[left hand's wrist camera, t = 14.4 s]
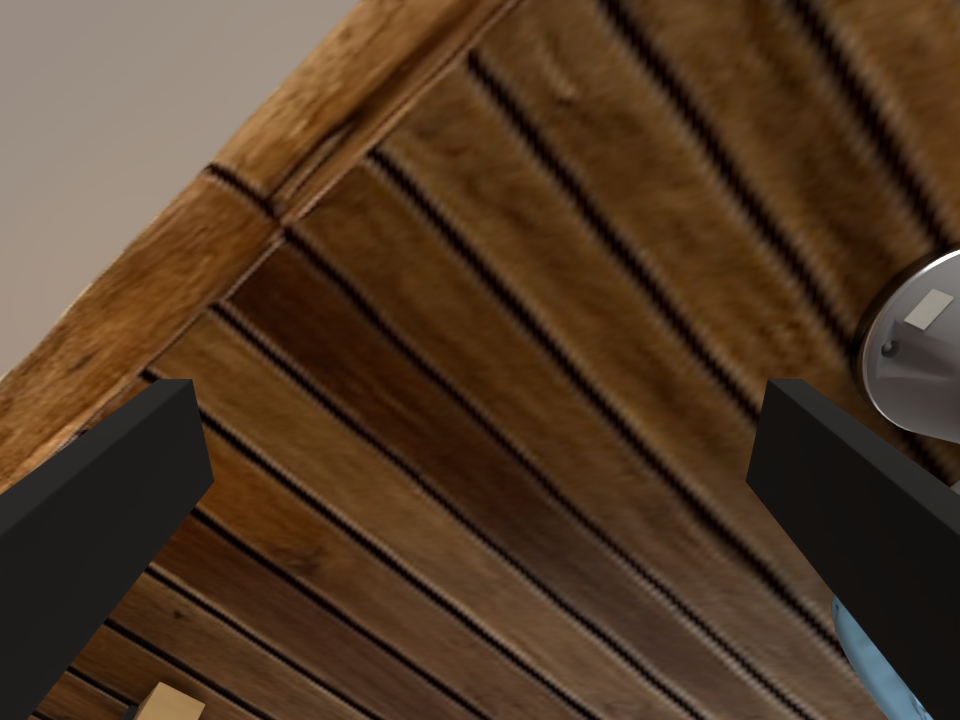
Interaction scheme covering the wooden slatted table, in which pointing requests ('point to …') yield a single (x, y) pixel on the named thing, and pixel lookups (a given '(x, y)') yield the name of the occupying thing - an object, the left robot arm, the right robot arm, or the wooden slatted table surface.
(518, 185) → the wooden slatted table surface
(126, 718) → the right robot arm
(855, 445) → the left robot arm
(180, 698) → the bar
